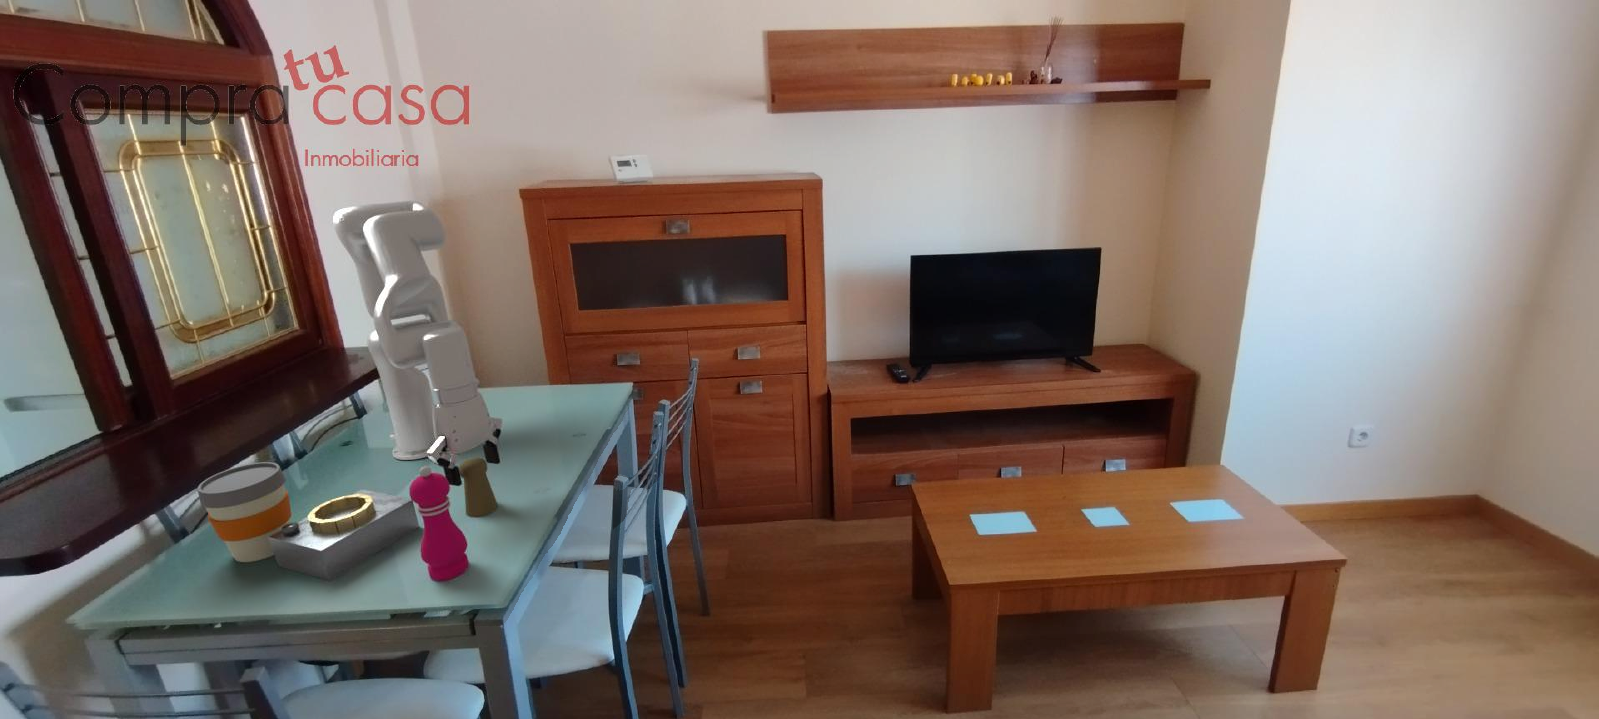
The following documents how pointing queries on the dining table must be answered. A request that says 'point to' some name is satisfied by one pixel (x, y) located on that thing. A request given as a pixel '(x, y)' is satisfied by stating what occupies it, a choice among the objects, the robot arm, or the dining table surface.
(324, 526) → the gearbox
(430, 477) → the pepper mill
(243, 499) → the reusable coffee cup
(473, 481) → the cork
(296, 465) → the dining table surface
